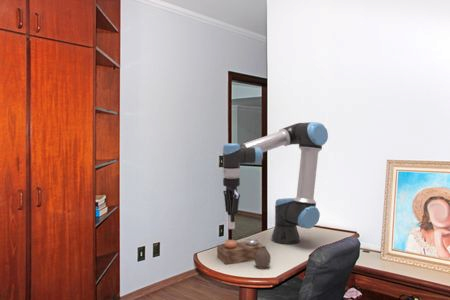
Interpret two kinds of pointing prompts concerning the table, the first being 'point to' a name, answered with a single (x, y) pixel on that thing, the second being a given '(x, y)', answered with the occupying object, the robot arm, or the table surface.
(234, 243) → the terracotta plunger
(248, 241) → the grey plunger
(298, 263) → the table surface
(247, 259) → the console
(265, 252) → the vase
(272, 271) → the table surface
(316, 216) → the robot arm
